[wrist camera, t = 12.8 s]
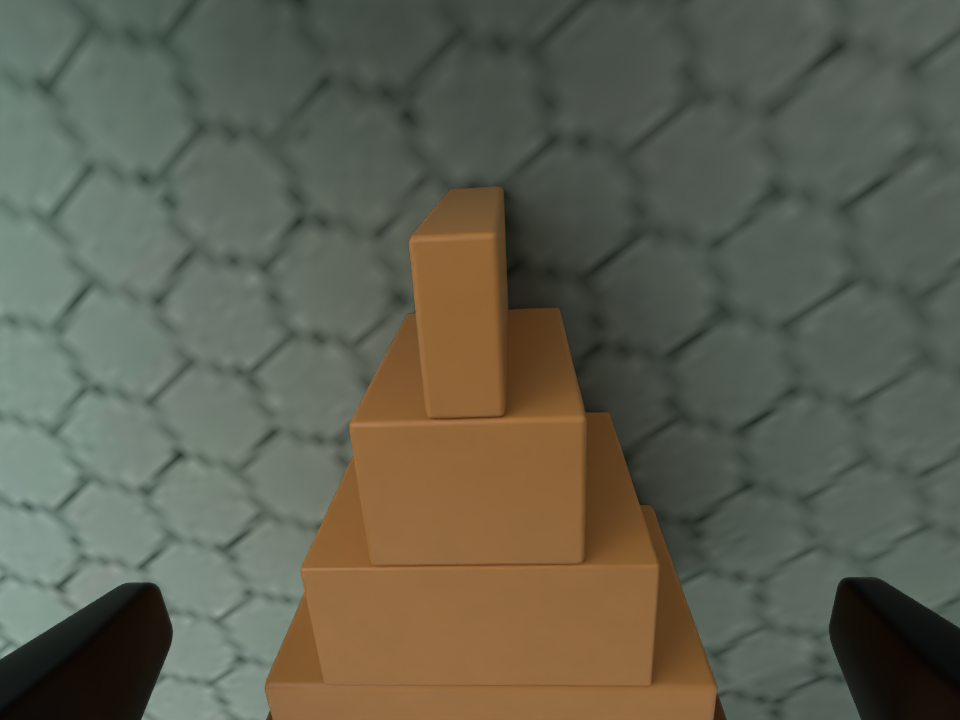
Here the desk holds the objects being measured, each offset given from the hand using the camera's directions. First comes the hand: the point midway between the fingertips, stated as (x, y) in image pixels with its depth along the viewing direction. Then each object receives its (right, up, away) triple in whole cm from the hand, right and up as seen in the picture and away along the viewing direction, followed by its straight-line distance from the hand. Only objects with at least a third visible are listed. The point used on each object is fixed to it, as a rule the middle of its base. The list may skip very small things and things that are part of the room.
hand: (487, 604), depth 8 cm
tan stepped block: (0, +2, +3) cm, 4 cm away
